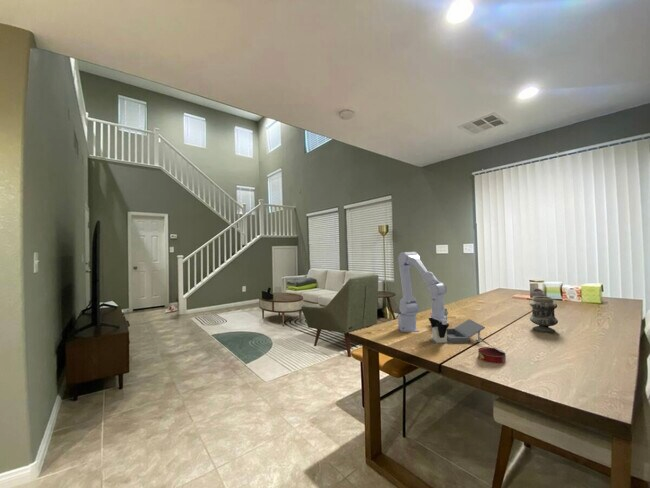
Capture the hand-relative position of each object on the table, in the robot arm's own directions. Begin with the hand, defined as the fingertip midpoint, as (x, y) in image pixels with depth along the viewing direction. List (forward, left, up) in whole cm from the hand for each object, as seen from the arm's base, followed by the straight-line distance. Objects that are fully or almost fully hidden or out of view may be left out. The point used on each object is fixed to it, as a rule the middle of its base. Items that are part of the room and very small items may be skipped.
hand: (438, 334), depth 137 cm
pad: (0, 0, -3) cm, 3 cm away
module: (0, 0, -3) cm, 3 cm away
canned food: (+14, -21, -4) cm, 25 cm away
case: (+13, +4, -3) cm, 14 cm away
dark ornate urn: (+62, +12, -3) cm, 64 cm away
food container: (+12, +24, -3) cm, 27 cm away
